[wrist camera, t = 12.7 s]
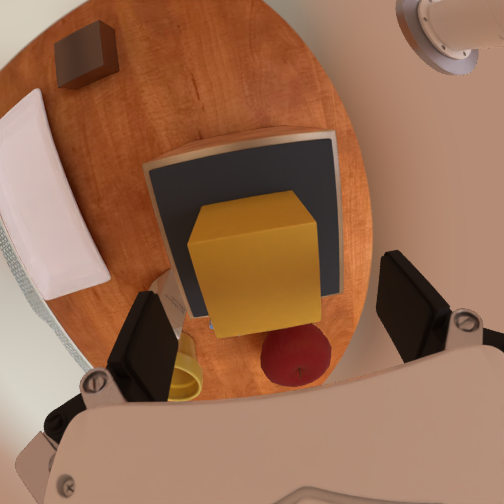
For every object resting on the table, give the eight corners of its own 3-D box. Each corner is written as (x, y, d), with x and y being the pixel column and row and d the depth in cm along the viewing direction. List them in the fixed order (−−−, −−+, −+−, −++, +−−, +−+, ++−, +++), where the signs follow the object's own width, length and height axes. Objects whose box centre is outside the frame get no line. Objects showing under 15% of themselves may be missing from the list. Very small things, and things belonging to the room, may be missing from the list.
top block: (292, 189, 16) (317, 221, 11) (300, 268, 19) (321, 321, 14) (201, 205, 16) (186, 244, 12) (220, 282, 19) (216, 339, 14)
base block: (114, 29, 24) (99, 19, 20) (119, 70, 27) (103, 65, 23) (72, 49, 24) (54, 43, 20) (76, 89, 27) (57, 87, 23)
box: (193, 290, 42) (182, 340, 32) (173, 303, 43) (160, 353, 33) (169, 266, 40) (151, 313, 30) (150, 281, 41) (130, 328, 31)
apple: (259, 351, 49) (265, 404, 38) (254, 307, 44) (259, 361, 34) (318, 343, 49) (334, 393, 38) (321, 298, 44) (342, 348, 34)
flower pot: (217, 349, 48) (215, 392, 39) (175, 367, 50) (168, 407, 41) (180, 312, 44) (170, 355, 35) (138, 334, 46) (124, 374, 37)
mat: (329, 138, 15) (331, 138, 15) (337, 289, 20) (339, 293, 20) (150, 169, 16) (148, 171, 15) (194, 313, 21) (193, 318, 20)
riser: (284, 125, 32) (335, 129, 15) (296, 213, 38) (343, 293, 21) (190, 141, 32) (141, 164, 15) (209, 228, 38) (189, 319, 21)
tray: (51, 85, 26) (37, 84, 23) (119, 270, 40) (112, 282, 37) (-10, 138, 27) (-23, 141, 24) (52, 291, 41) (44, 302, 38)
